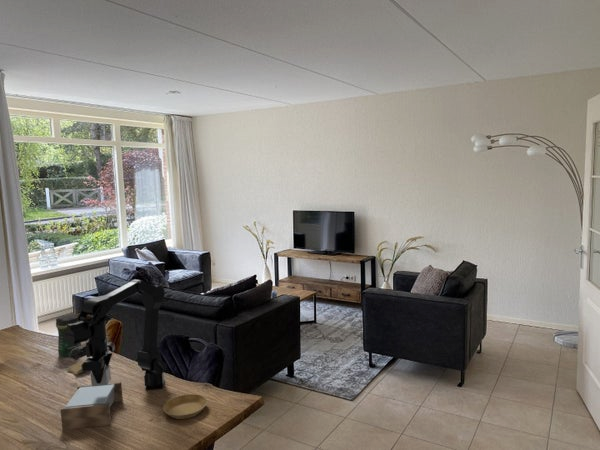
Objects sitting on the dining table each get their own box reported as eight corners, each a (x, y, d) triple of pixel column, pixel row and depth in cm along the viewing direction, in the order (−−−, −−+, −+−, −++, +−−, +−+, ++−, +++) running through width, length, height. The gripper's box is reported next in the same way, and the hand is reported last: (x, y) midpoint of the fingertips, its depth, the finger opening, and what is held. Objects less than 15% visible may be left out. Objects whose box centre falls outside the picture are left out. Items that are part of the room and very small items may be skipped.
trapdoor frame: (122, 399, 171) (121, 381, 170) (110, 424, 154) (108, 404, 153) (79, 404, 169) (78, 385, 168) (62, 429, 152) (60, 409, 151)
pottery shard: (66, 375, 198) (72, 376, 191) (65, 364, 199) (71, 366, 191) (93, 369, 205) (99, 370, 198) (92, 359, 206) (98, 360, 198)
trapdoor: (115, 397, 169) (114, 384, 168) (104, 417, 155) (103, 403, 154) (80, 400, 167) (79, 387, 167) (66, 421, 153) (65, 406, 153)
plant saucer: (171, 401, 169) (170, 394, 169) (211, 400, 169) (210, 393, 168) (157, 423, 154) (157, 416, 154) (202, 422, 154) (201, 414, 154)
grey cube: (110, 378, 163) (109, 365, 163) (107, 385, 158) (106, 371, 158) (95, 380, 162) (94, 366, 162) (91, 386, 157) (90, 372, 157)
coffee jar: (64, 359, 212) (60, 319, 210) (56, 355, 216) (52, 316, 214) (85, 351, 220) (81, 313, 217) (76, 348, 224) (72, 311, 222)
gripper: (81, 329, 166) (84, 370, 168) (62, 348, 148) (67, 394, 150) (113, 326, 168) (117, 368, 170) (99, 345, 150) (103, 391, 151)
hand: (101, 379), depth 160 cm, fingers closed on grey cube, 5 cm apart
